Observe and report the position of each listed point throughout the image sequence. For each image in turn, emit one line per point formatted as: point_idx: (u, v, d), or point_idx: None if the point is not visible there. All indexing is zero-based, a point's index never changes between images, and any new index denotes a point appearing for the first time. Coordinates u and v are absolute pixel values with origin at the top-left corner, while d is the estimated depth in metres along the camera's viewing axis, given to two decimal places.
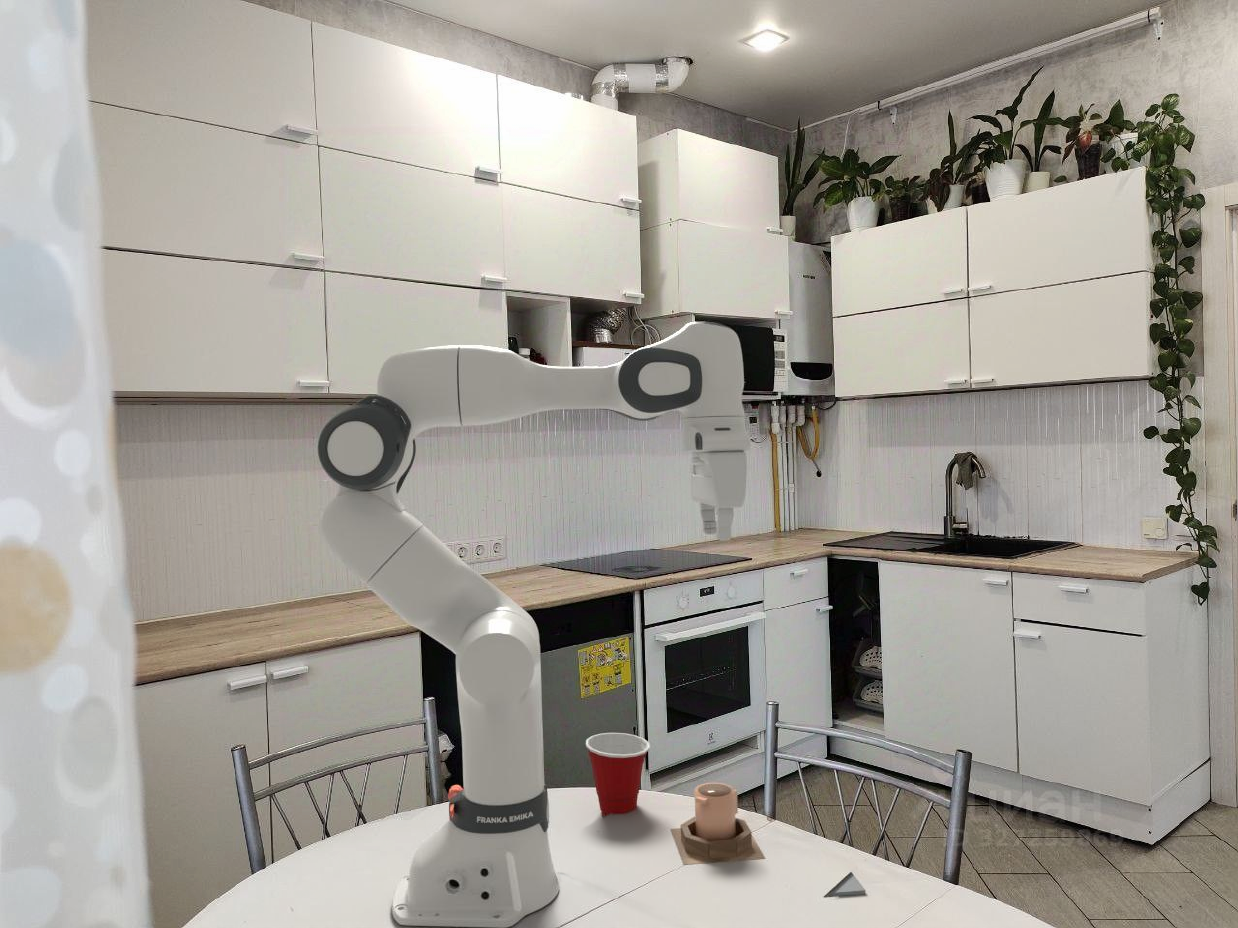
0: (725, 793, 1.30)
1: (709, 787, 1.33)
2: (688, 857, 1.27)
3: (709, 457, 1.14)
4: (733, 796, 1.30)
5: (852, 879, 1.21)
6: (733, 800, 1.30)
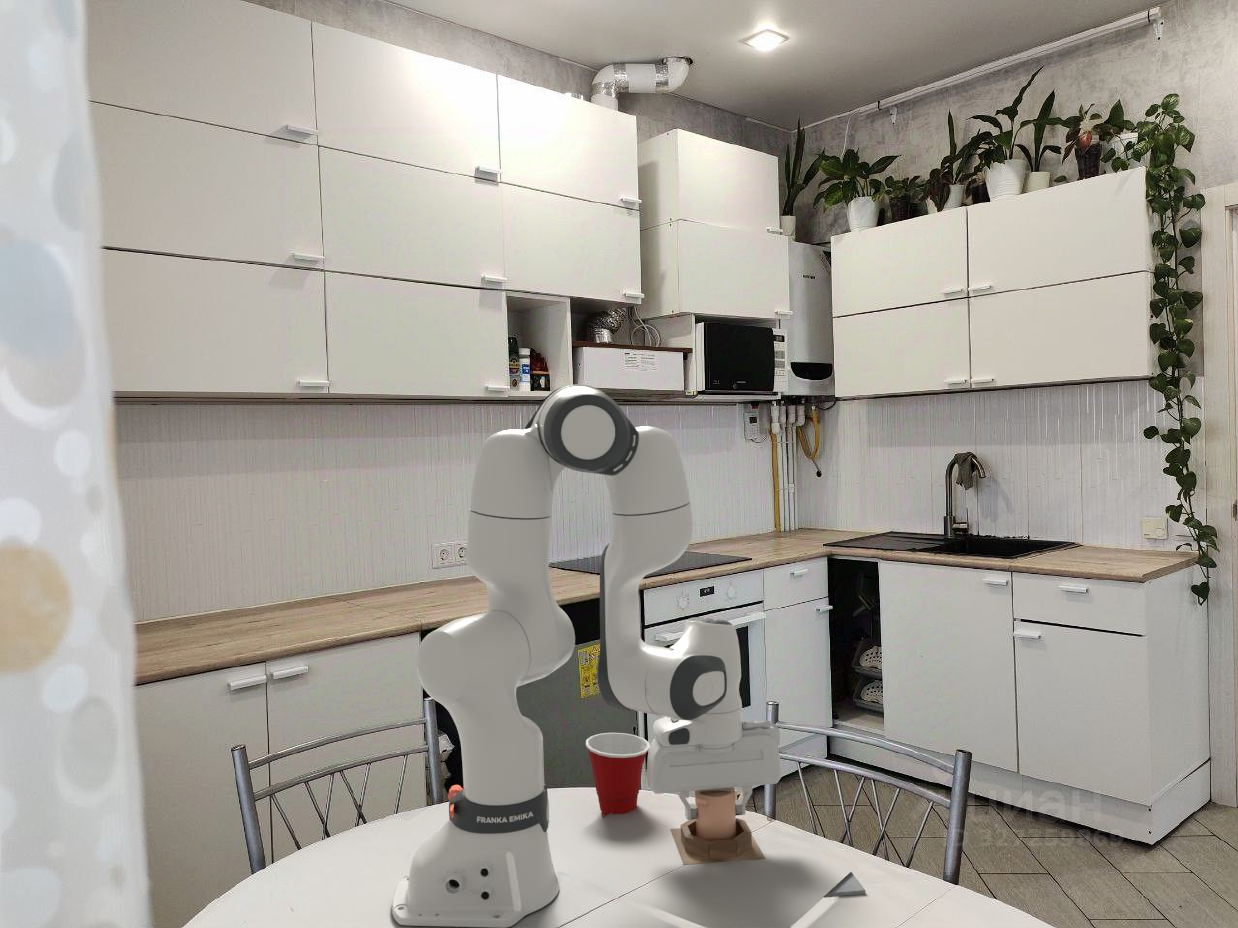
0: (725, 793, 1.30)
1: None
2: (688, 857, 1.27)
3: (653, 740, 1.33)
4: (733, 796, 1.30)
5: (852, 879, 1.21)
6: (733, 800, 1.30)
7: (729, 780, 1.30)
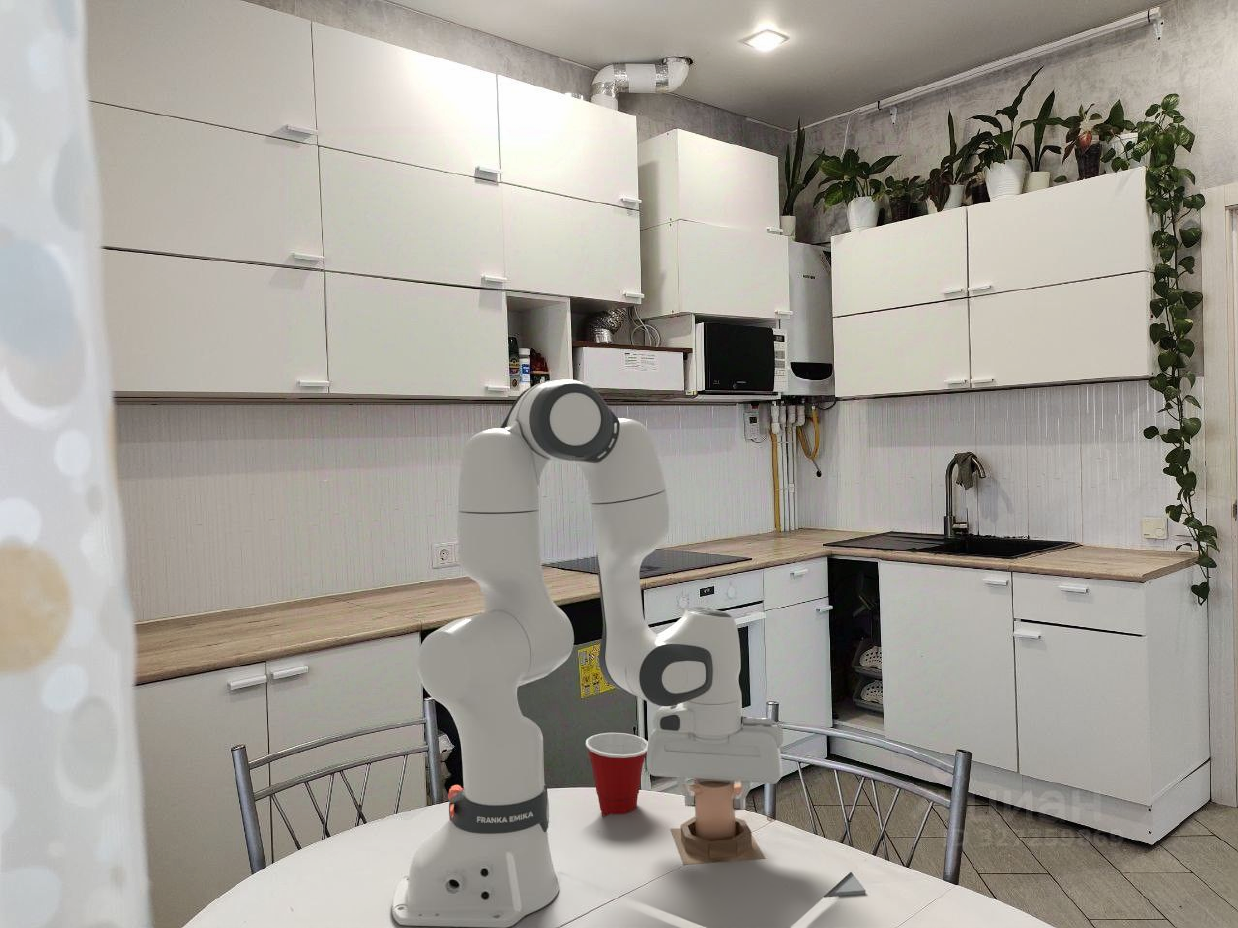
0: (720, 785, 1.30)
1: None
2: (688, 857, 1.27)
3: None
4: (729, 789, 1.30)
5: (852, 879, 1.21)
6: (729, 793, 1.30)
7: (724, 773, 1.30)
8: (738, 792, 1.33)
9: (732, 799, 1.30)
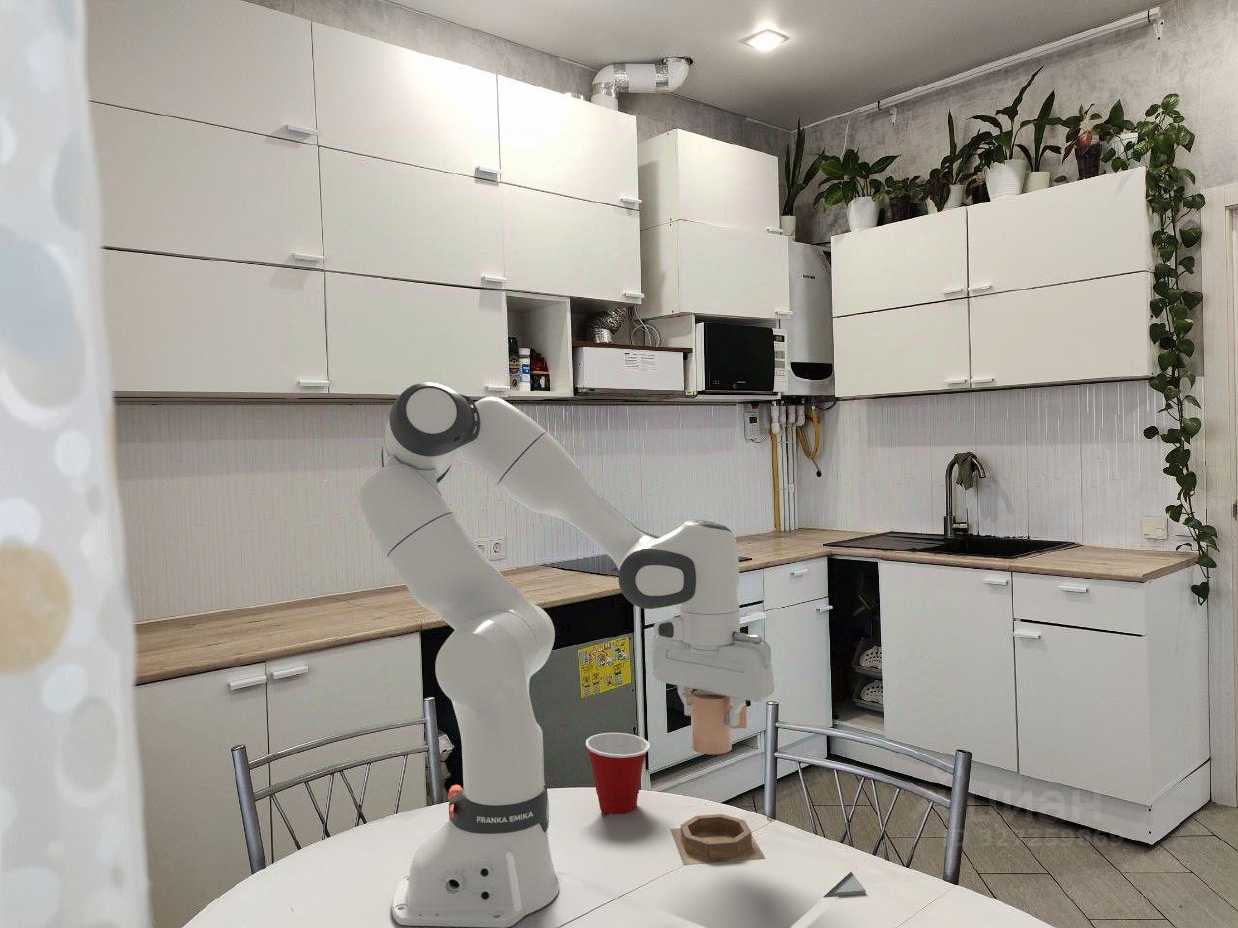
0: (710, 698, 1.29)
1: None
2: (688, 857, 1.27)
3: None
4: (718, 703, 1.29)
5: (852, 879, 1.21)
6: (718, 707, 1.29)
7: (713, 685, 1.29)
8: None
9: (722, 714, 1.29)
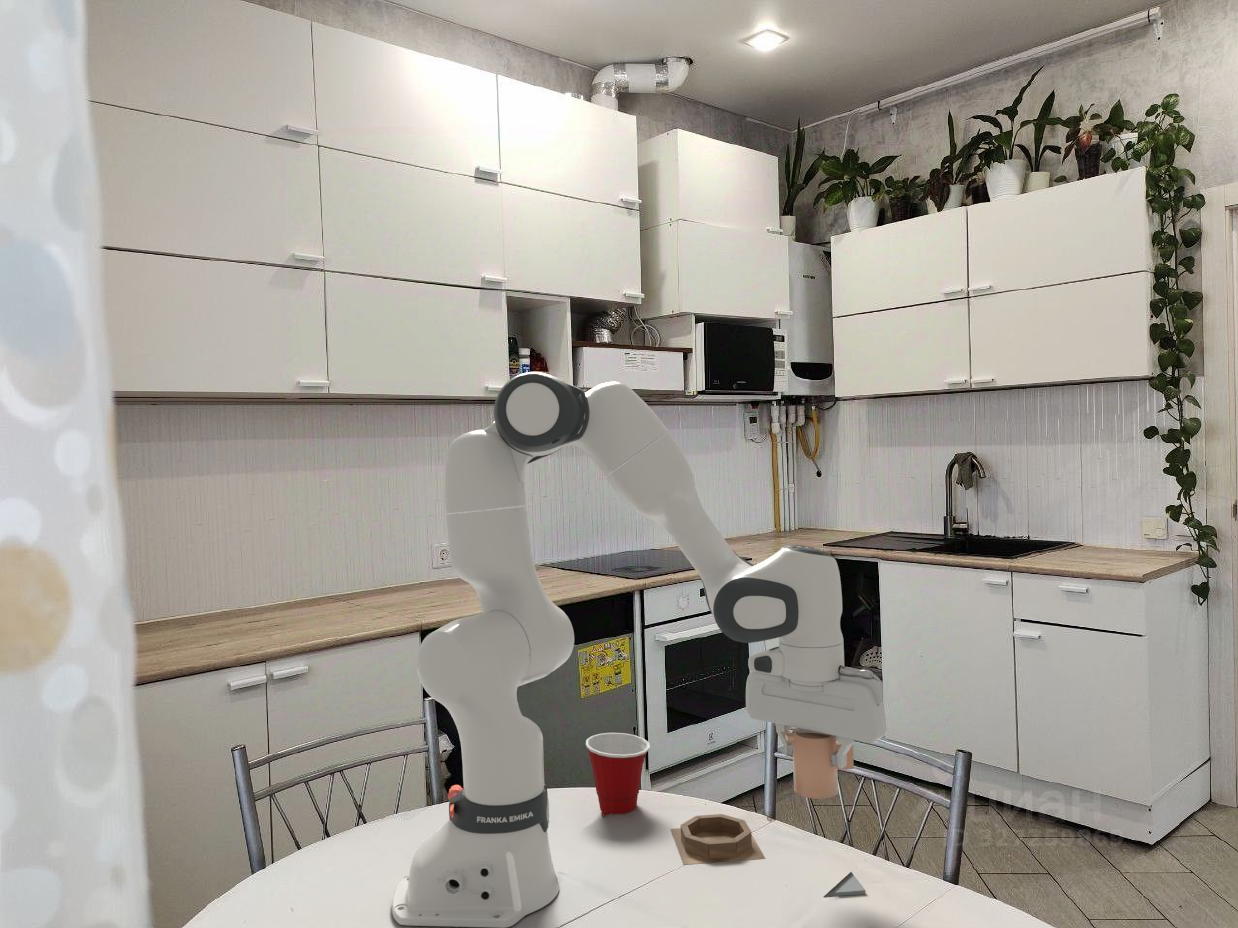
0: (815, 737, 1.20)
1: None
2: (688, 857, 1.27)
3: None
4: (824, 743, 1.19)
5: (852, 879, 1.21)
6: (824, 747, 1.19)
7: (818, 724, 1.19)
8: None
9: (829, 754, 1.19)
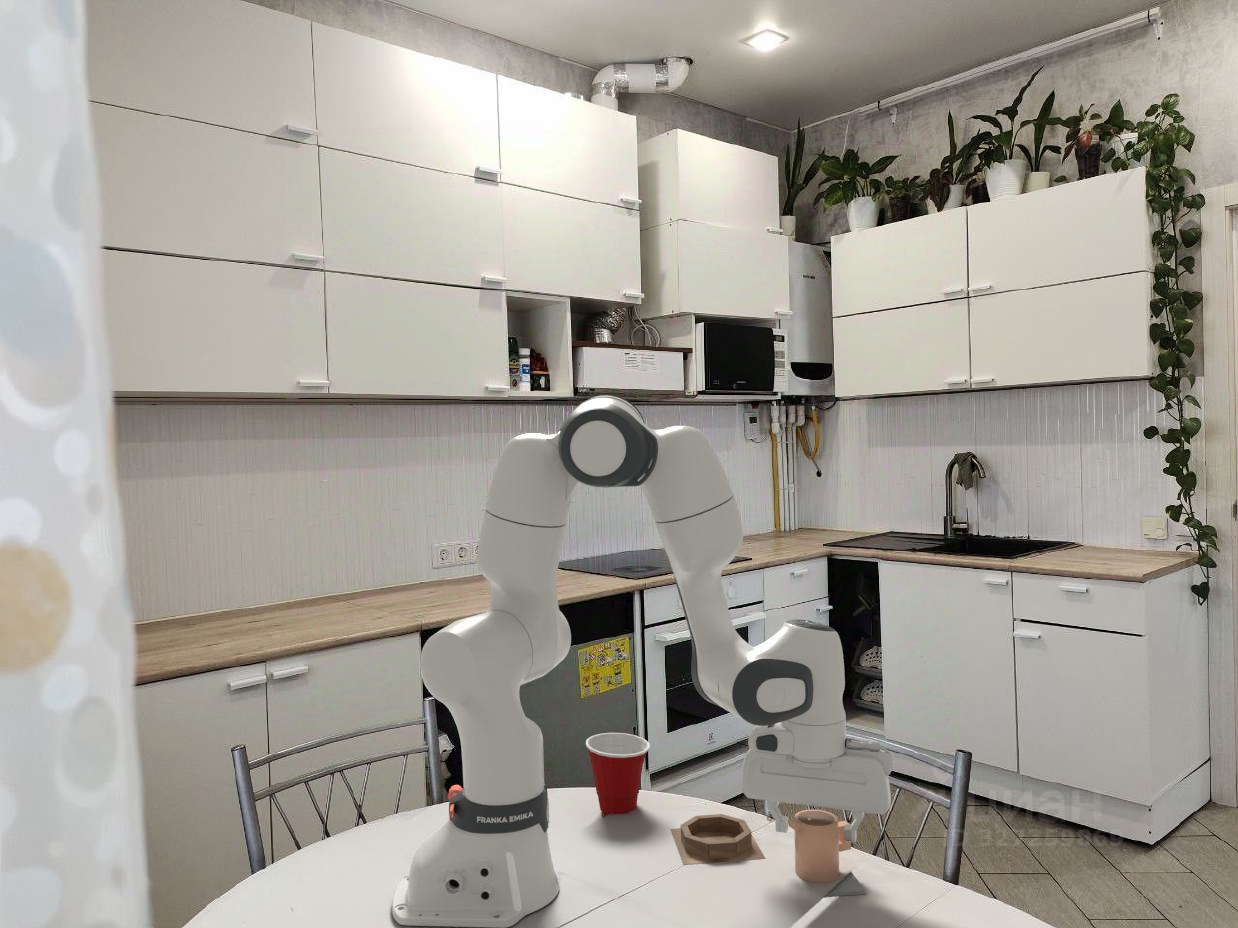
0: (822, 824, 1.20)
1: (813, 814, 1.23)
2: (688, 857, 1.27)
3: None
4: (832, 829, 1.19)
5: (852, 879, 1.21)
6: (832, 833, 1.19)
7: (826, 799, 1.20)
8: (843, 831, 1.23)
9: (835, 839, 1.20)
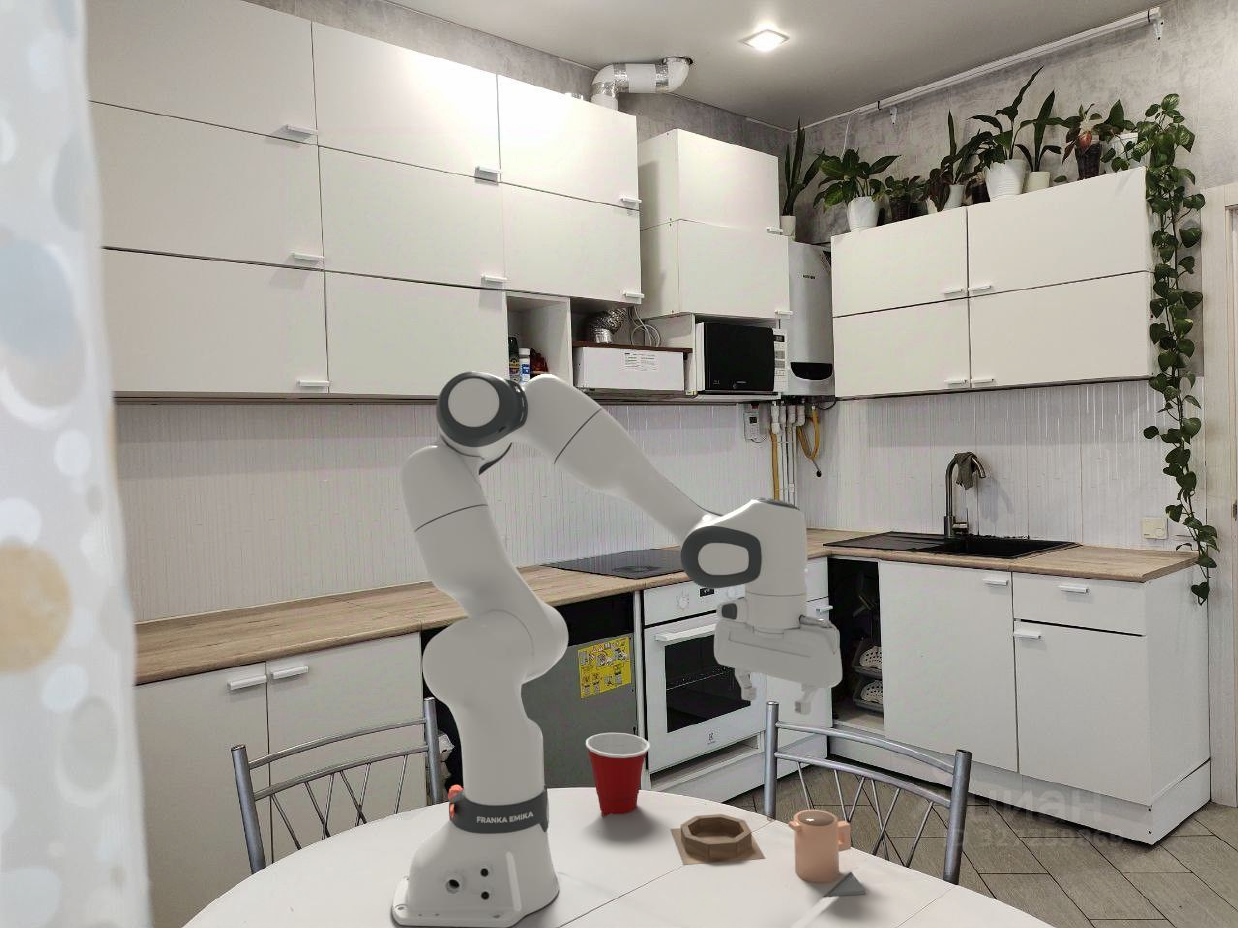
0: (822, 824, 1.20)
1: (813, 814, 1.23)
2: (688, 857, 1.27)
3: None
4: (832, 829, 1.19)
5: (852, 879, 1.21)
6: (832, 833, 1.19)
7: (778, 670, 1.24)
8: (843, 831, 1.23)
9: (835, 839, 1.20)
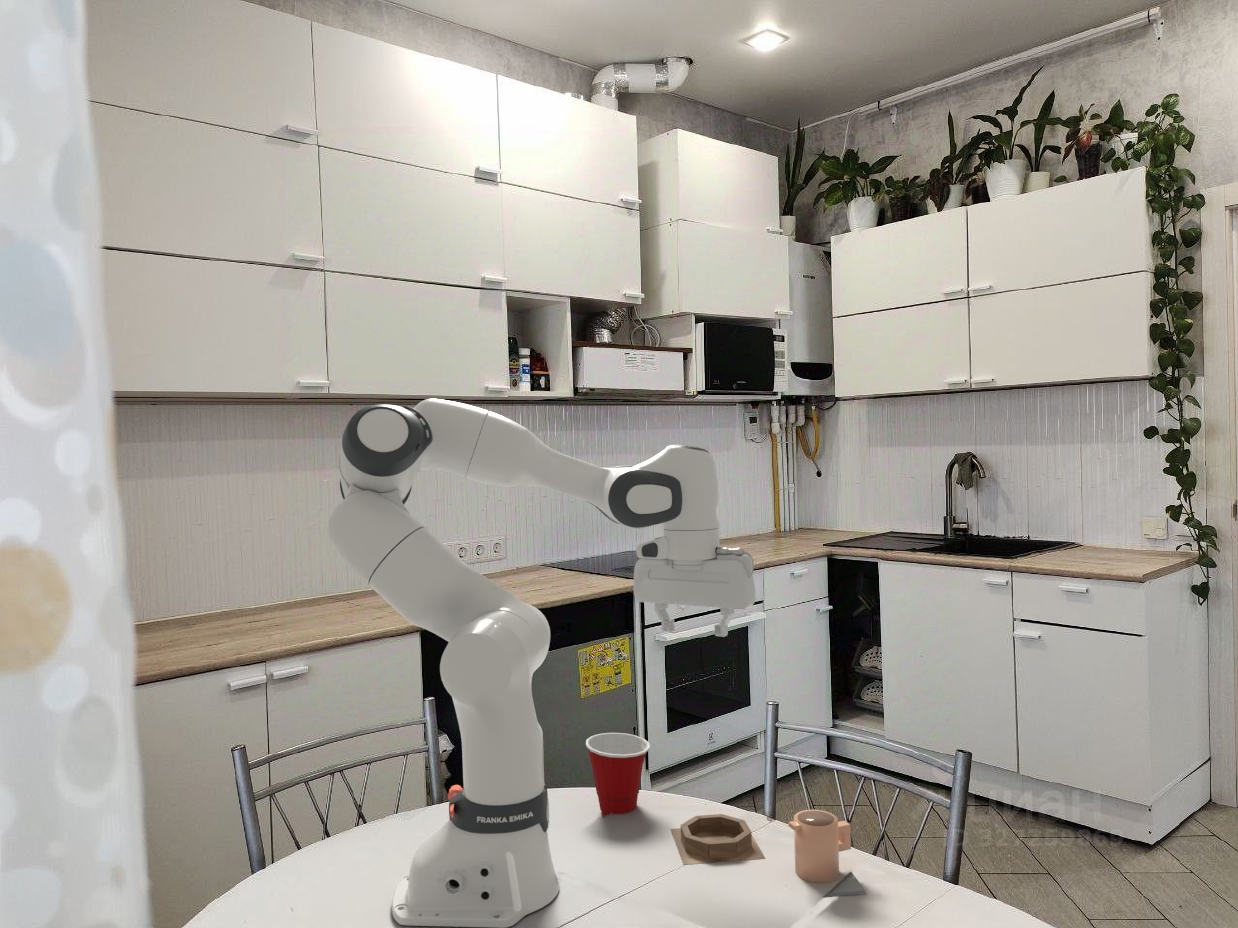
0: (822, 824, 1.20)
1: (813, 814, 1.23)
2: (688, 857, 1.27)
3: None
4: (832, 829, 1.19)
5: (852, 879, 1.21)
6: (832, 833, 1.19)
7: (698, 599, 1.37)
8: (843, 831, 1.23)
9: (835, 839, 1.20)
